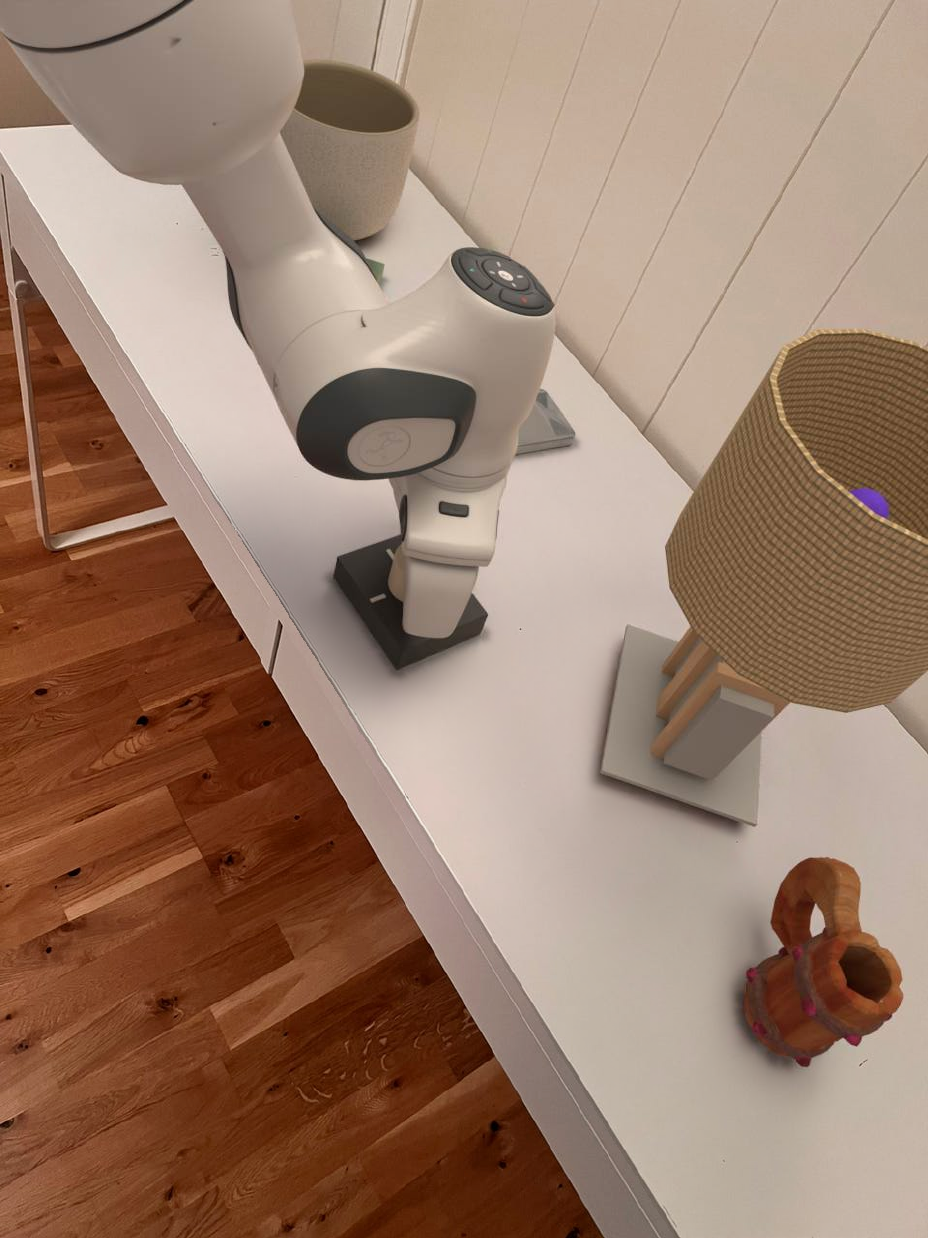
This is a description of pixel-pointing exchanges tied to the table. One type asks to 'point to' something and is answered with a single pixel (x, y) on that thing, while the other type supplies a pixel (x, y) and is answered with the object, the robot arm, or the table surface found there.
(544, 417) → the phone
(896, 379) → the desk lamp
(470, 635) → the panel
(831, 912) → the mug
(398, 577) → the dial
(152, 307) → the table surface
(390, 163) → the planter
